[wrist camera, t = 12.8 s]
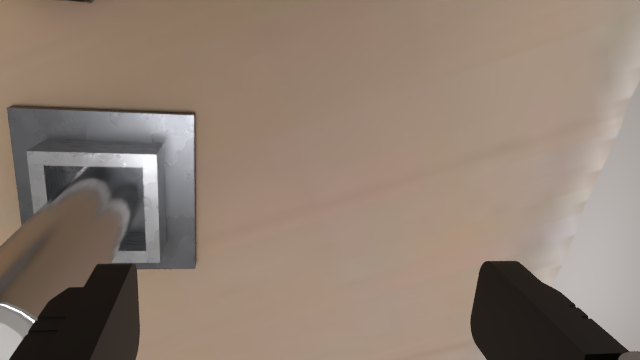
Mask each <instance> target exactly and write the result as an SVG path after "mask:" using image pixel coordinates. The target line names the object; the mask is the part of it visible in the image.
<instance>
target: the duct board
mask: <svg viewBox="0 0 640 360" xmlns="http://www.w3.org/2000/svg"><path fill="white" fill-rule="evenodd" d="M7 112H8V120H9V128H10V136H11V144H12V152H13V160H14V168H15V176H16V184H17V192H18V200H19V208H20V216H21V224H22V225H23V224H24V223H25V222H26V221H28V220H29V219H30V218H31V217H32V216H33V215H34V214H35V213H36V212H37V211H38V210H39V209H40V208H41V207H42V206H43V205H44V204H45V203H46V202H48V201H49V200H50V199H51V198H52V197H53V196H54V195H55V194H56V193H57V192H58V191H59V190H60V189H61V188H62V187H63V186H64V185H65V184H66V183H68V182H69V181H70V180H71V179H72V178H73V177H74V176H75V175H76V174H77V173H78V172H79V171H80V170H81V169H82V168H84V167H85V166H92V167H127V168H128V169H130V170H131V171H132V172H133V173H134V174H135V175H136V177H137V178H138V180H139V181H140V183H141V186H142V189H143V201H142V205H141V208H140V210H139V211H138V213H137V215H136V217H135V219H134V221H133V223H132V225H131V226H130V228H129V230H128V232H127V234H126V236H125V238H124V240H123V241H122V243H121V245H120V247H119V249H118V251H117V253H116V255H115V257H114V258H113V260H112V262H111V264H119V263H134V264H135V265H136V269H195V266H196V187H195V113H182V112H158V111H133V110H109V109H84V108H60V107H35V106H11V107H8V108H7Z"/></svg>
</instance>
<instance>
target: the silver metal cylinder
mask: <svg viewBox="0 0 640 360" xmlns="http://www.w3.org/2000/svg"><path fill="white" fill-rule="evenodd" d="M142 201H143V189H142V186H141V183H140V181H139V180H138V178H137V177H136V175H135V174H134V173H133V172H132V171H131V170H130V169H128V168H127V167H92V166H85V167H84V168H82V169H81V170H80V171H79V172H78V173H77V174H76V175H75V176H74V177H73V178H72V179H71V180H70V181H69V182H68V183H66V184H65V185H64V186H63V187H62V188H61V189H60V190H59V191H58V192H57V193H56V194H55V195H54V196H53V197H52V198H51V199H50V200H49V201H48V202H46V203H45V204H44V205H43V206H42V207H41V208H40V209H39V210H38V211H37V212H36V213H35V214H34V215H33V216H32V217H31V218H30V219H29V220H28V221H26V222H25V223H24V224H23V225H22V226H21V227H20V228H19V229H18V230H17V231H16V232H15V233H14V234H13V235H12V236H11V237H10V238H9V239H8V240H6V241H5V242H4V243H3V244H2V245H1V246H0V360H9V359H10V357H11V356H12V354H13V353H14V351H15V350H16V348H17V347H18V345H19V344H20V343H21V341H22V340H23V338H24V337H25V335H28V331H29V329H30V328H31V326H32V325H33V323H34V322H35V321H37V319H38V316H39V314H40V313H41V312H42V310H43V309H44V307H45V306H46V304H47V303H48V301H50V300H51V299H52V298H54V297H55V296H57V295H58V294H60V293H61V292H63V291H64V290H65V289H67V288H68V287H84V285H85V284H86V282H87V280H88V278H89V277H90V275H91V273H92V272H93V270H94V268H95V266H96V265H97V264H111V262H112V260H113V258H114V257H115V255H116V253H117V251H118V249H119V247H120V245H121V243H122V241H123V240H124V238H125V236H126V234H127V232H128V230H129V228H130V226H131V225H132V223H133V221H134V219H135V217H136V215H137V213H138V211H139V210H140V208H141V205H142Z"/></svg>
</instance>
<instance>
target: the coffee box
mask: <svg viewBox="0 0 640 360" xmlns="http://www.w3.org/2000/svg"><path fill="white" fill-rule="evenodd" d="M62 1H76V2H86V3H92V2H93V1H94V0H62Z"/></svg>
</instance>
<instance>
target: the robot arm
mask: <svg viewBox="0 0 640 360" xmlns="http://www.w3.org/2000/svg"><path fill="white" fill-rule="evenodd" d="M471 332H472V336H473V339H474V342H475V344H476V345H477V347H478V348H479V349H480V351H481V352H482V354H483V355H484V356H485V358H486V359H487V360H640V352H638V351H636V352H635V351H634V352H629V351H628V350H627V349H626V348H625V347H623V346H622V345H621V344H620V343H619V342H617V340H615V339H614V338H613V337H612V336H611V335H609V334H608V333H607V332H606V331H605V330H604V329H602V328H601V327H600V326H599V325H598V324H597V323H596V322H594V321H593V320H592V319H588V316H587V315H586V314H585V313H584V312H583V311H582V310H581V309H579V308H576V307H575V304H574V303H572V302H571V301H570V300H569V299H568V298H567V297H565V296H564V295H563V294H562V293H561V292H559V291H557V290H556V289H554V288H552V287H550V286H548V285H546V284H544V283H542V282H541V281H540V280H539V279H537V278H536V277H535V276H534V275H533V274H532V273H531V272H530V271H528V270H527V269H526V268H525V267H524V266H523V265H522V264H520V263H519V262H517V261H486V262H484V263H483V264H482V266H481V268H480V272H479V277H478V282H477V287H476V293H475V298H474V303H473V308H472V314H471ZM139 335H140V323H139V302H138V282H137V269H136V265H135V264H134V263H119V264H97V265H96V266H95V268H94V270H93V272H92V273H91V275H90V277H89V278H88V280H87V282H86V284H85V285H84V287H68V288H67V289H65V290H64V291H63V292H61V293H60V294H58V295H57V296H55V297H54V298H52V299H51V300H50V301H48V303H47V304H46V306H45V307H44V309H43V310H42V312H41V313H40V314H39V316H38V319H37V321H35V322H34V323H33V325H32V326H31V328H30V329H29V331H28V335H25V337H24V338H23V340H22V341H21V343H20V344H19V345H18V347H17V348H16V350H15V351H14V353H13V354H12V356H11V357H10V359H9V360H136V356H137V352H138V346H139Z"/></svg>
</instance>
